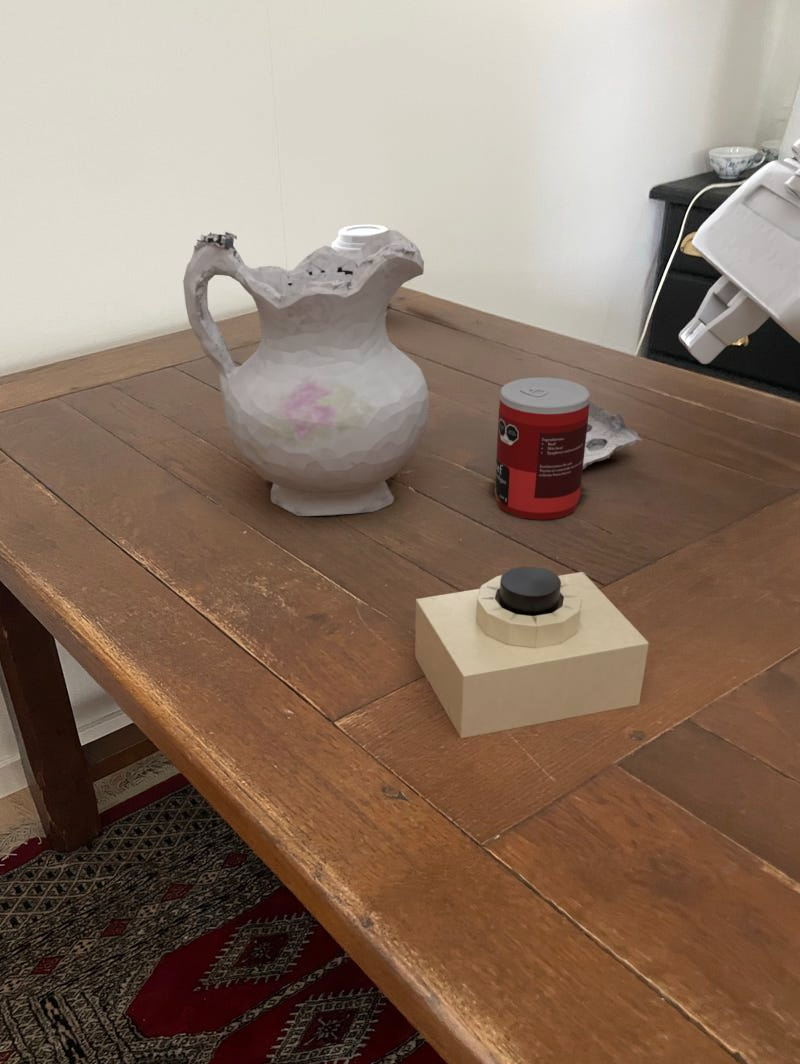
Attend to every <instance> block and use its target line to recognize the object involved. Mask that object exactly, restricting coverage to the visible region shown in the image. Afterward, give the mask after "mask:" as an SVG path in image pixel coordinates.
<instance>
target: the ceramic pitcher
mask: <svg viewBox="0 0 800 1064" xmlns="http://www.w3.org/2000/svg"><path fill="white" fill-rule="evenodd" d="M237 237H238V236H237V235H235V234H234V233H232V232H228V231H225V232H224V234H221V233H220V234H219V233H213V232H210V233H208V234H207V235H204V234H200V236H199V238H200V239H196V241H197V242H196V244H195V245H194V246H193V253H192V256H191V258H190V260H189V262H188V263H187V264H186V268H185V272H184V277H183V280H182V283H183V293H184V301H185V302H184V303H185V308H186V313H187V318H188V322H189V325H190V327H191V329H192V331H193V332H194V335H195V336H196V338H197V340H198V341H199V344H200V346H201V348H202V351H203V353H204V355H205V356H206V357H208V359H209V360H210V361H211V362H212V363H213V364H214V366H215V368H216V370H217V372H218V379H219V389H220V396H221V400H222V403H223V405H222V406H223V409H224V415H225V419H226V425H227V429H228V432H229V436H230V438H231V441H232V443H233V446H234V447H235V449H236V451H237V453H238V454H239V456H240V457H241V458H242V459H243V460H244V461H245V462H246V464H247V465H249V467H251V469H253V471H255V472H256V473H257V474H258V475H259V476H260V477H261V478H262V479H263V480H265V481H268V482H271V483H272V485H271V489H270V502H271V503H272V504H274V505H276V506H278V507H280V508H282V509H284V510H286V511H288V512H290V513H292V514H293V515H296V516H297V517H314V516H336V515H352V514H353V515H354V514H361V513H362V514H363V513H373V512H376V511H379V510H380V509H383V508H385V507H388V506H390V505H392V504H393V502H394V499H395V497H394V495H393V494H392V493H391V491H390V488H389V486H388V485H389V484H388V483H387V482H386V481H387V480H388V479H390V478H391V477H393V476H394V475H396V474H397V473H398V472H399V471H401V469H403V468H404V466H405V465H406V464H407V463H408V462H409V461H410V460H411V458H412V457H413V455H414V454H415V452H416V451H417V448H418V447H419V444H420V442H421V441H422V439H423V437H424V434H425V431H426V428H427V425H428V423H429V412H430V395H429V390H428V386H427V381H426V378H425V376H424V374H423V371H422V369H421V368H420V367H419V365H418V364H417V363H416V362H415V361H413V359H411V358H410V357H409V356H407V355H406V354H405V353H404V352H403V351H401V350H400V349H399V348H398V347H396V345H394V344H393V343H392V342H391V341H390V338H389V336H388V333H387V325H386V317H385V311H386V309H387V310H388V306H389V304H390V302H391V299H392V298H393V297H394V295H395V294H396V293H397V291H399V290H400V289H401V286H403V284H405V283H407V282H408V281H411V280H413V279H415V278H417V277H419V276H422V275H424V270H425V269H424V267H425V261H424V259H423V258H422V255H421V251H420V249H419V248H418V247H417V245H416V244H415V243H414V242H413V241H412V240H410V239H408V238H407V237H406V236H405V235H404V234H402V233H401V232H399V231H398V230H397V229H395V230H394V229H388V231H385V232H381V233H377V234H375V235H373V236H372V237H371V238H370V239H369V240H368V241H367V242H366V243H365V245H364V246H363V247H362V248H361V249H360V250H359V251H358V252H357V253H356V254H353V253H347V252H338V251H336V250H335V249H333V248H332V246H327V245H323V246H321V247H319V248H317V249H315V250H314V251H313V252H311V253H310V254H308V255H307V256H306V257H304V258H303V259H302V260H301V261H300V262H299V263H298V264H297V265H296V266H295V267H294V269H289V270H288V269H285V268H283V267H280V266H275V265H263V266H259V267H255V268H251V267H249V266H248V265H246V264H245V262H244V260H243V259H242V257H241V255H240V253H239V252H238V250H237V249H236V247H235V246H234V241H236V240H237V239H238V238H237ZM215 276H226V277H230V278H232V279H233V280H235V281H237V282H238V283H239V284H240V285H241V286H242V287H243V289H244V290H245V291H246V292H247V293H248V294H249V295H250V296H251V297H252V299H253V301H254V303H255V306H256V309H257V313H258V316H259V323H260V342H259V345H258V347H257V348H256V350H255V351H254V352H253V354H252V355H251V356H250V357H249V358H248V359H247V360H245V361H244V362H243V363H242V364H241V365H238V366H236V365H235V363H234V361H233V358H232V356H231V354H230V351H229V349H228V346H227V342H226V339H225V337H224V335H223V334H222V331H221V330H220V328H219V327H218V325H217V323H216V322H215V320H214V318H213V316H212V314H211V311H210V310H209V302H208V301H209V300H208V286H209V281H210V280H212V279H213V278H214V277H215Z"/></svg>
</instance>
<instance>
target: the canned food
mask: <svg viewBox="0 0 800 1064" xmlns="http://www.w3.org/2000/svg"><path fill="white" fill-rule="evenodd" d="M590 395H591V394H590V391H589V389H588V388H586V386H584V385H582V384H581V383H579V382H578V383H577V382H575V381H571V380H569V379H568V380H567V379H563V378H556V377H547V376H546V377H545V376H544V377H543V376H542V377H541V376H540V377H537V376H536V377H527V378H526V377H525V378H520V379H516V380H512V381H509V382H508V383H506V384H504V385H503V386H502V388H501V389H500V394H499V404H498V405H499V406H498V419H497V420H498V421H497V439H496V440H497V441H496V457H495V458H496V459H495V460H496V461H495V480H494V481H495V483H494V497H495V499H496V503H497V505H498V506H499V508H500V509H501V510H503V511H504V512H505V513H507V514H509V515H512V516H514V517H517V518H520V519H527V520H533V521H535V520H536V521H547V520H555V519H560V518H563V517H566V516H568V515H570V514H571V513H573V512H574V511H575V509H576V508H577V505H578V503H579V501H580V497H581V488H582V478H583V471H584V469H583V461H584V452H585V443H586V434H587V425H588V415H589V403H590V402H591V400H590V399H591V397H590Z"/></svg>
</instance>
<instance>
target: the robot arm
mask: <svg viewBox="0 0 800 1064" xmlns="http://www.w3.org/2000/svg"><path fill="white" fill-rule="evenodd" d="M791 152H792V154H793V156H791V157H790V156H789V157H786V158H784V159H775V160H772V161H769V162H767V163H766V164H764V165H763V166H761V167H760V168H759V169H758V170H757V171H756V172H754V173H752V175H751V176H750V177H748V178H747V179H746V180H745V181H744V182H743V183H742V184H741V185H740V186H739V187H738V188H737V189H736V190H735V191H734V192H733V193H732V194H730V195H729V196H728V197H727V198H726V199H725V200H724V201H723V202H722V203H721V204H720V205H719V207H717V208H716V209H715V211H714V212H712V214H711V215H709V216H708V218H706V220H705V221H704V222H703V223H702V224H701V225H700V226H699V228H698V229H697V231H696V233H695V234H694V236H693V238H692V240H691V243H690V244H691V247H692V249H693V250H694V251H695V252H697V254H698V255H699V256H701V258H703V260H705V261H706V262H707V263H708V264H709V265H710V266H712V268H714V269H715V271H717V272H718V273H719V274H720V275H721V277H719V278H718V279H717V280H716V282H714V284H713V285H712V286H711V287H710V288H709V289H708V290H707V293H706V294H705V297H704V298H703V301H702V302H701V304H700V305H699V308H698V310H697V311H696V313H695V316H694V317H693V318H692V319H691V320H690V321H689V322H688V323H687V324H686V325H685V327H684V328H683V329H682V330H680V332H679V334H678V340H679V342H680V343H681V344H682V345H683V346H684V348H686V350H687V351H688V352H689V354H690V355H691V356H693V358H695V359H696V360H697V361H698V362H699V363H700V364H703V365H708V364H710V363H712V362H713V361H714V360H715V359H716V358H717V357H718V356H719V354H720V353H722V351H724V350H725V348H727V347H729V346H731V345H733V344H735V343H737V342H739V341H741V340H742V339H744V338H746V337H748V336H749V335H750V336H751V334H754V333H755V332H757V330H758V329H760V327H761V326H763V324H764V323H765V322H767V321H768V319H770V318H771V320H772V321H774V322H775V323H776V324H777V325H778V326H780V327H781V328H782V329H783V330H784V331H785V332H787V334H789V335H790V336H791V337H792V338H793V339H794V340H795V341H797V343H799V344H800V136H799V137H798V138H797V139H796V141H794V143H793V144H792V145H791Z"/></svg>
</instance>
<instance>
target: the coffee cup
mask: <svg viewBox="0 0 800 1064" xmlns="http://www.w3.org/2000/svg"><path fill="white" fill-rule="evenodd" d="M388 230H389V229H388V228H387V227H386V226H383V225H379V224H356V225H349V226H345V227H342V228H341V229H339V230H338V237H336V238H335V240H334V241H333V242H332V243H331V247H332V248H333V249H335V250H336V251H338V252H347V253H353V254H356V253H357V252H358V251H359V250H360V249H361V248H362V247H363V246H364V245H365V243H366V242H367V241H368V240H369V239H370V238H371V237H372V236H373V235H375V234H377V233H381V232H385V231H388ZM387 315H388V308H387V309H386V311H385V318H386V317H387Z"/></svg>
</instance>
